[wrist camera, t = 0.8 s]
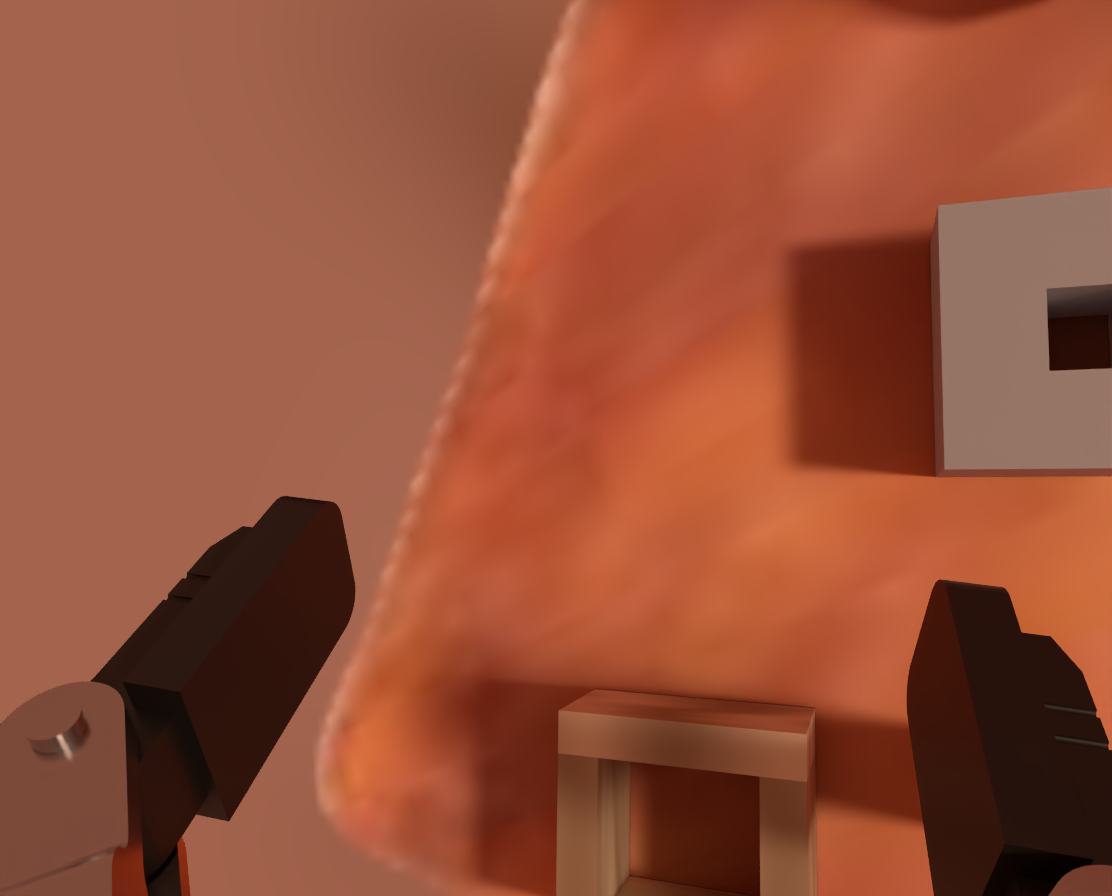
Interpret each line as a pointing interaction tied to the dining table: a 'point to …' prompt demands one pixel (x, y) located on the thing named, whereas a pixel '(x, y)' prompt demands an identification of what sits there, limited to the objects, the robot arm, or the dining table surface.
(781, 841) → the wooden square box frame
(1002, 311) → the block
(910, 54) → the dining table surface
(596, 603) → the dining table surface
